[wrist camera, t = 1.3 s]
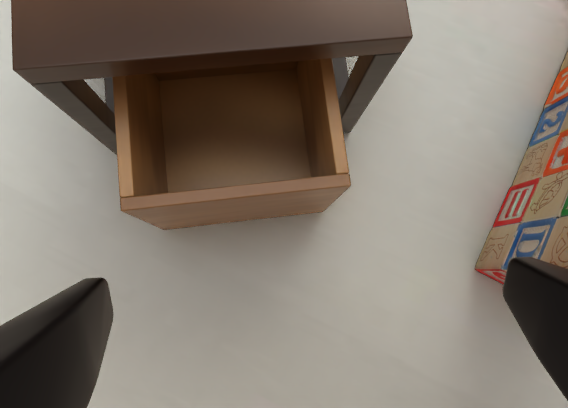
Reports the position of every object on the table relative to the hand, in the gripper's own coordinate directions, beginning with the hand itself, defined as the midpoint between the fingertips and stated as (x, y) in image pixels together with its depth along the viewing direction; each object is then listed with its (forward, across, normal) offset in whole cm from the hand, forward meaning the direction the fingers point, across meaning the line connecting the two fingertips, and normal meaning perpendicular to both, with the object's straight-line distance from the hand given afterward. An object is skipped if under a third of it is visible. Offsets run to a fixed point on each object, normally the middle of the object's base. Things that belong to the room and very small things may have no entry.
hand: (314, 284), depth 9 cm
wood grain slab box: (+18, +2, +1) cm, 19 cm away
